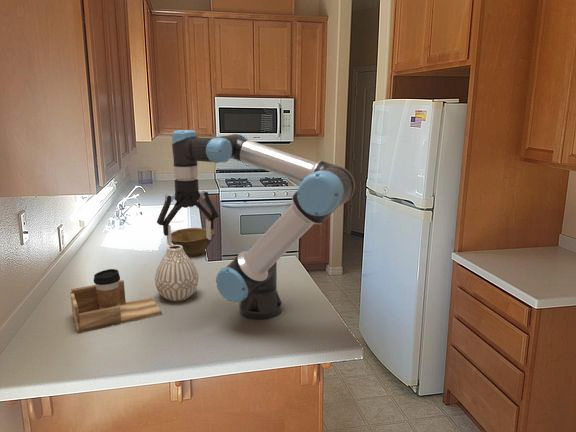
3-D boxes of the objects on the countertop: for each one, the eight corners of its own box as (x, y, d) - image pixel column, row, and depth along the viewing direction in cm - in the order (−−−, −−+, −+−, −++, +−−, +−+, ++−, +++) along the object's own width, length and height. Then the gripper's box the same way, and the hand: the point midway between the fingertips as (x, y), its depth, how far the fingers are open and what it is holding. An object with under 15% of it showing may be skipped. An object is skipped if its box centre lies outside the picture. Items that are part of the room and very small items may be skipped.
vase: (154, 307, 168) (150, 254, 163) (157, 290, 183) (154, 241, 178) (199, 303, 171) (197, 252, 166) (199, 287, 186) (196, 239, 181)
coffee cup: (128, 313, 160) (124, 272, 157) (104, 321, 154) (100, 279, 151) (115, 306, 166) (111, 266, 162) (92, 314, 160) (88, 273, 156)
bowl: (160, 252, 228) (159, 233, 226) (201, 243, 243) (200, 225, 241) (182, 264, 212) (181, 243, 210) (224, 253, 227) (223, 233, 225)
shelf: (161, 314, 162) (159, 287, 160) (77, 333, 149) (74, 304, 147) (151, 300, 174) (149, 275, 171) (72, 316, 161) (69, 289, 158)
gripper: (218, 174, 159) (220, 233, 164) (144, 180, 147) (149, 244, 152) (226, 177, 153) (228, 238, 158) (150, 183, 141) (155, 250, 146)
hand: (189, 241), depth 155 cm, fingers open, 13 cm apart
